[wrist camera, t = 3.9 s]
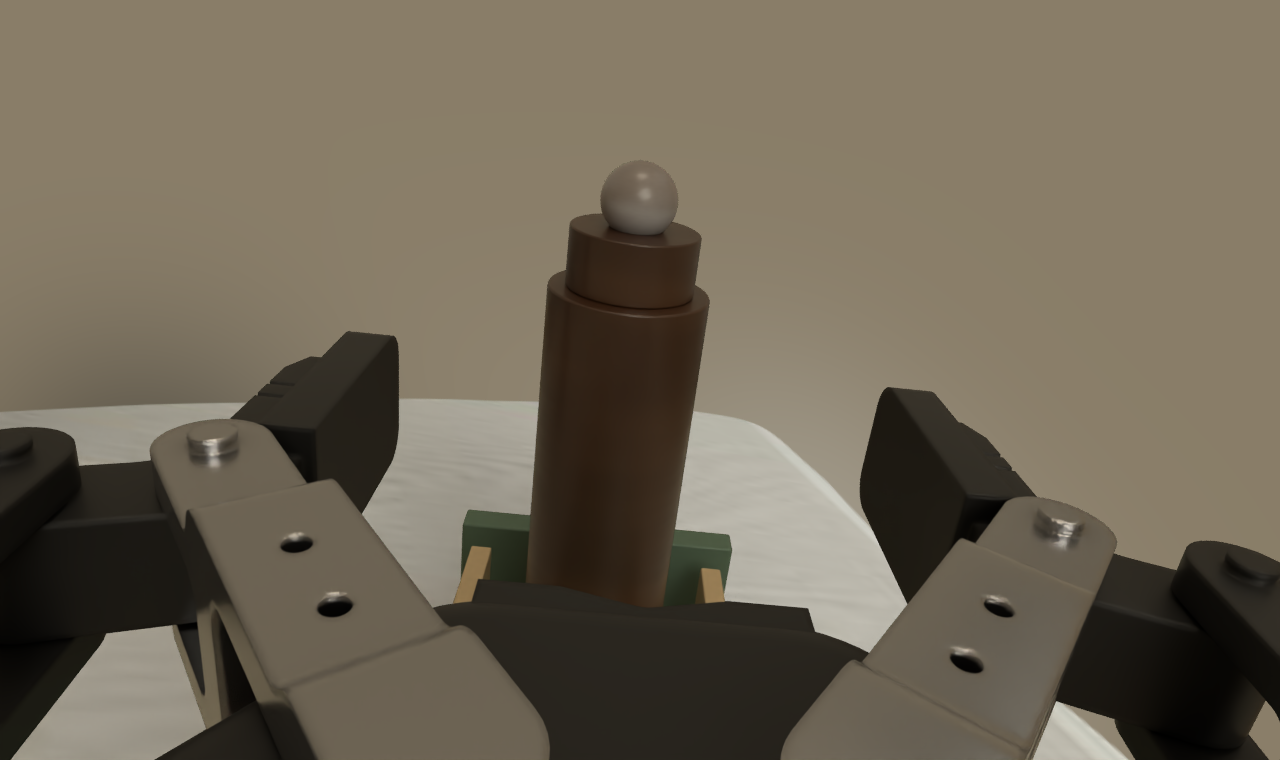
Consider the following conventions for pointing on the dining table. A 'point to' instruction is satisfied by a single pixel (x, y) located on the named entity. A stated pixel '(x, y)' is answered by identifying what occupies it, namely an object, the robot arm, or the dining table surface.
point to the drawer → (503, 549)
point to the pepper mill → (617, 393)
